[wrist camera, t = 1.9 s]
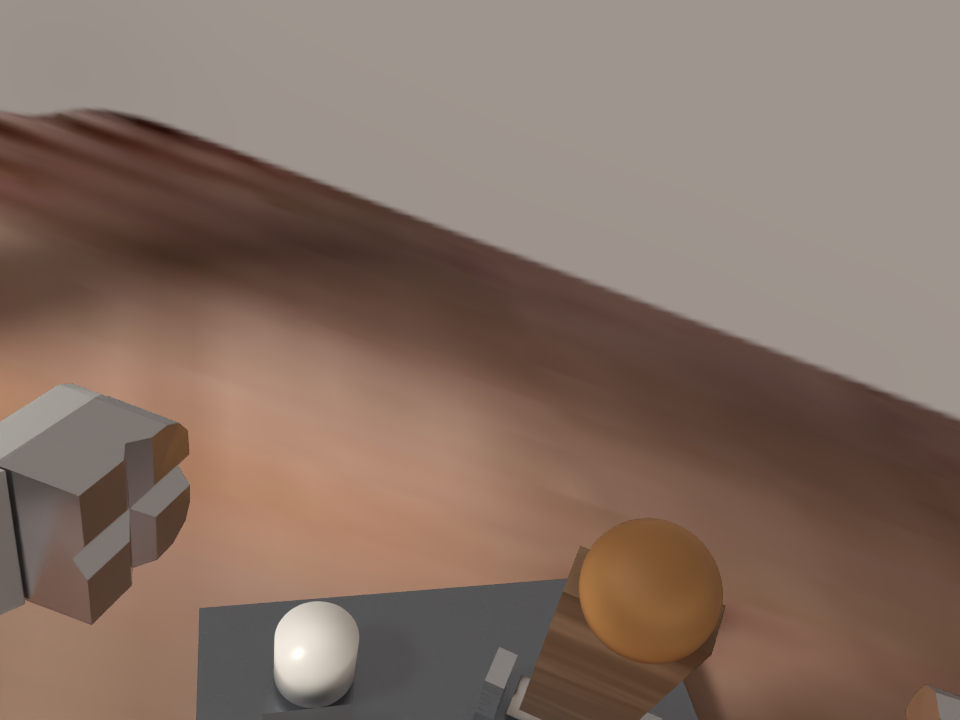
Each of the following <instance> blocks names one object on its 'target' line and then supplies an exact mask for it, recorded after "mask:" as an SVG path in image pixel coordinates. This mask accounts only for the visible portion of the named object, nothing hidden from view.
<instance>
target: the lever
mask: <svg viewBox="0 0 960 720" xmlns="http://www.w3.org/2000/svg"><path fill="white" fill-rule="evenodd" d="M722 600H723V588H722V581H721V577H720V573H719V570H718V567H717V565H716V563H715V560H714V558H713V557H712V555H711V553H710V552H709V550H708V549H707V548H706V547H705V545H704V544H703V543H702V542H701V541H700V540H699V539H698V538H697V537H696V536H695V535H693V534H692V533H691V532H689V531H688V530H686V529H684V528H683V527H681V526H679V525H677V524H674V523H672V522H669V521H665V520H660V519H652V518H644V519H636V520H630V521H627V522H624V523H621V524H619V525H617V526H615V527H613V528H612V529H610V530H609V531H607V532H606V533H604V534H603V535H602V536H601V537H600V538H599V539H598V540H597V541H596V542H595V543H594V544H593V546H592V547H591V549H590V550H589V549H587V548H584V547H582V546H580V548H579V551H578V553H577V556H576V558H575V561H574V564H573V566H572V569H571V571H570V574H569V577H568V579H567V582H566V584H565V587H564V590H563V592H562V595H561V598H560V600H559V603H558V606H557V608H556V611H555V614H554V617H553V619H552V622H551V625H550V627H549V630H548V633H547V635H546V638H545V641H544V643H543V646H542V649H541V652H540V654H539V657H538V660H537V662H536V665H535V668H534V670H533V673H532V676H531V678H528V677H526V676H524V675H521V677H520V679H519V682H518V684H517V687H516V690H515V692H514V695H513V697H512V700H511V703H510V705H509V708H508V711H507V713H506V714H507V715H510V716H512V717H514V718H516V719H518V720H640V719H641V718H642V717H643V716H644V715H645V714H646V713H648V712H649V711H650V710H651V709H652V708H653V707H654V706H655V705H656V704H657V703H659V702H660V701H661V700H662V699H663V698H664V697H665V696H666V695H667V694H668V693H670V692H671V691H672V690H673V689H674V688H675V687H676V686H677V685H678V684H680V683H681V682H682V681H683V680H684V679H685V678H686V677H687V676H688V675H689V674H691V673H692V672H693V671H694V670H695V669H696V668H697V667H698V666H699V665H700V664H702V663H703V662H704V661H705V660H706V659H707V658H708V657H709V656H710V655H711V654H712V651H713V648H714V644H715V641H716V637H717V634H718V630H719V627H720V623H721V620H722V616H723V613H724V609H725V605H722Z"/></svg>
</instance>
